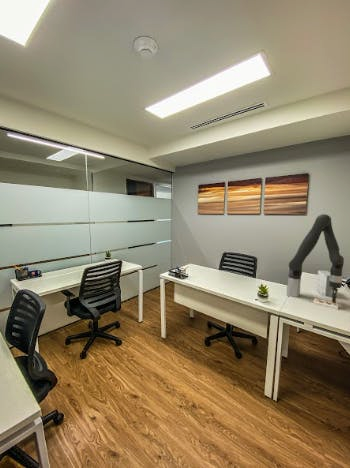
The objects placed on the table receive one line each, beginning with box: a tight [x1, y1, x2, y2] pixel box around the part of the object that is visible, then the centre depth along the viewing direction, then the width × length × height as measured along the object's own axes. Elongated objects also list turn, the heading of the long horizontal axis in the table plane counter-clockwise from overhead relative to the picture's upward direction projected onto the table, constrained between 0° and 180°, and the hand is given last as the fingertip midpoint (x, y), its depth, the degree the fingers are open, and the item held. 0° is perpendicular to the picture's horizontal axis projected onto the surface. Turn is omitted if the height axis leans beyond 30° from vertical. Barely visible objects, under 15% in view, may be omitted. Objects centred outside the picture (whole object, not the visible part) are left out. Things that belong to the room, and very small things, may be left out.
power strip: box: [308, 298, 339, 311], centre depth 159 cm, size 18×7×3 cm, turn 51°
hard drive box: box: [316, 270, 333, 298], centre depth 180 cm, size 16×8×20 cm, turn 168°
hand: (333, 300), depth 159 cm, fingers open, 8 cm apart
